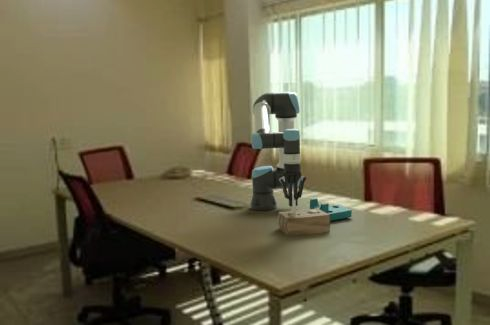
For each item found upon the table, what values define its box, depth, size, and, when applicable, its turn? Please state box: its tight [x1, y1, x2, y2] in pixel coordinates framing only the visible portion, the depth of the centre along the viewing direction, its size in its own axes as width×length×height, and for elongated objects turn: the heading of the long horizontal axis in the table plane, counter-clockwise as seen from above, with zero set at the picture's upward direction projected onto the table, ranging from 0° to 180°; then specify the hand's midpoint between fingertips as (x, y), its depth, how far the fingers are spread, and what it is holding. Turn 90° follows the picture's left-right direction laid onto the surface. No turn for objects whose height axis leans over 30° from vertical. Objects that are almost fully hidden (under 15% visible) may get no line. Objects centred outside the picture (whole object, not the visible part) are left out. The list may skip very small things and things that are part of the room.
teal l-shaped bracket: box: [309, 197, 353, 222], centre depth 267 cm, size 18×11×10 cm, turn 117°
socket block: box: [278, 208, 331, 237], centre depth 248 cm, size 14×20×8 cm
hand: (293, 212), depth 246 cm, fingers closed
